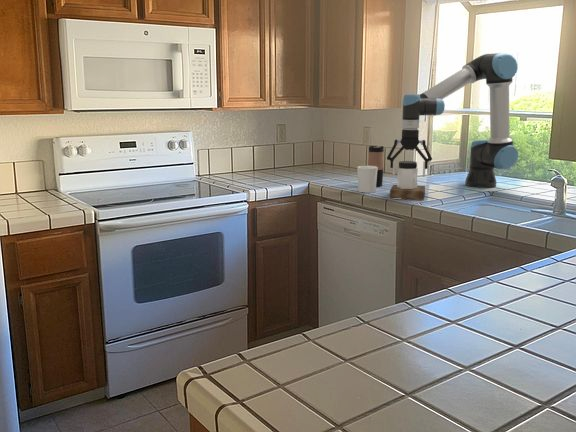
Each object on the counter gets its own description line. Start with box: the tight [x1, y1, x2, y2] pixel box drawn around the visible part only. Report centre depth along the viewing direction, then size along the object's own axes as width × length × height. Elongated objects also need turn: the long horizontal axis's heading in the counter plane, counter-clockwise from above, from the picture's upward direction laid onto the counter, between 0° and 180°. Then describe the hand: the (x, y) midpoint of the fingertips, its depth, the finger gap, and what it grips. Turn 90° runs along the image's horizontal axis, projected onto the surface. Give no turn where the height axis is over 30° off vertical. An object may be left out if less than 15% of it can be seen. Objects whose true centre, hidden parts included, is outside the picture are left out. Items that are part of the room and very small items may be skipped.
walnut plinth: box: [389, 184, 426, 201], centre depth 275 cm, size 15×15×4 cm
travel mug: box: [367, 145, 385, 188], centre depth 301 cm, size 8×8×20 cm
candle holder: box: [356, 165, 378, 194], centre depth 287 cm, size 10×10×12 cm
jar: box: [396, 160, 418, 189], centre depth 273 cm, size 9×8×12 cm
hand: (408, 175), depth 273 cm, fingers open, 13 cm apart
